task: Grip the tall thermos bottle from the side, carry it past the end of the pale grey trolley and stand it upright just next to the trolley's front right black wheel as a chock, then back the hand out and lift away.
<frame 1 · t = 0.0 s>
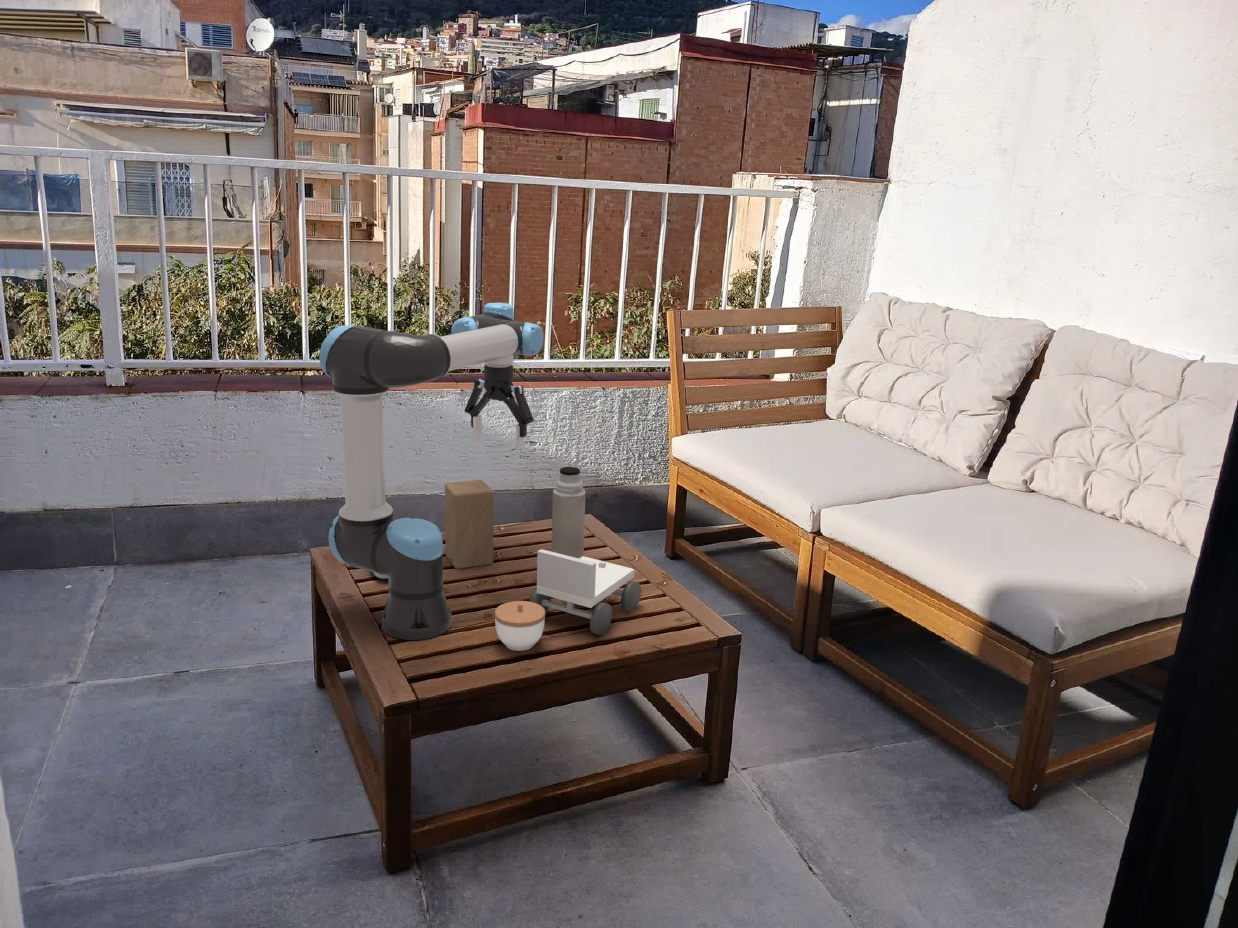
hand: (498, 444, 256), 28 cm above the table, fingers open, 13 cm apart
trolley: (585, 612, 226), on the table
thermos bottle: (567, 575, 246), on the table
wooden block: (469, 560, 253), on the table
decorative stone: (391, 571, 245), on the table
lidded jar: (519, 644, 210), on the table
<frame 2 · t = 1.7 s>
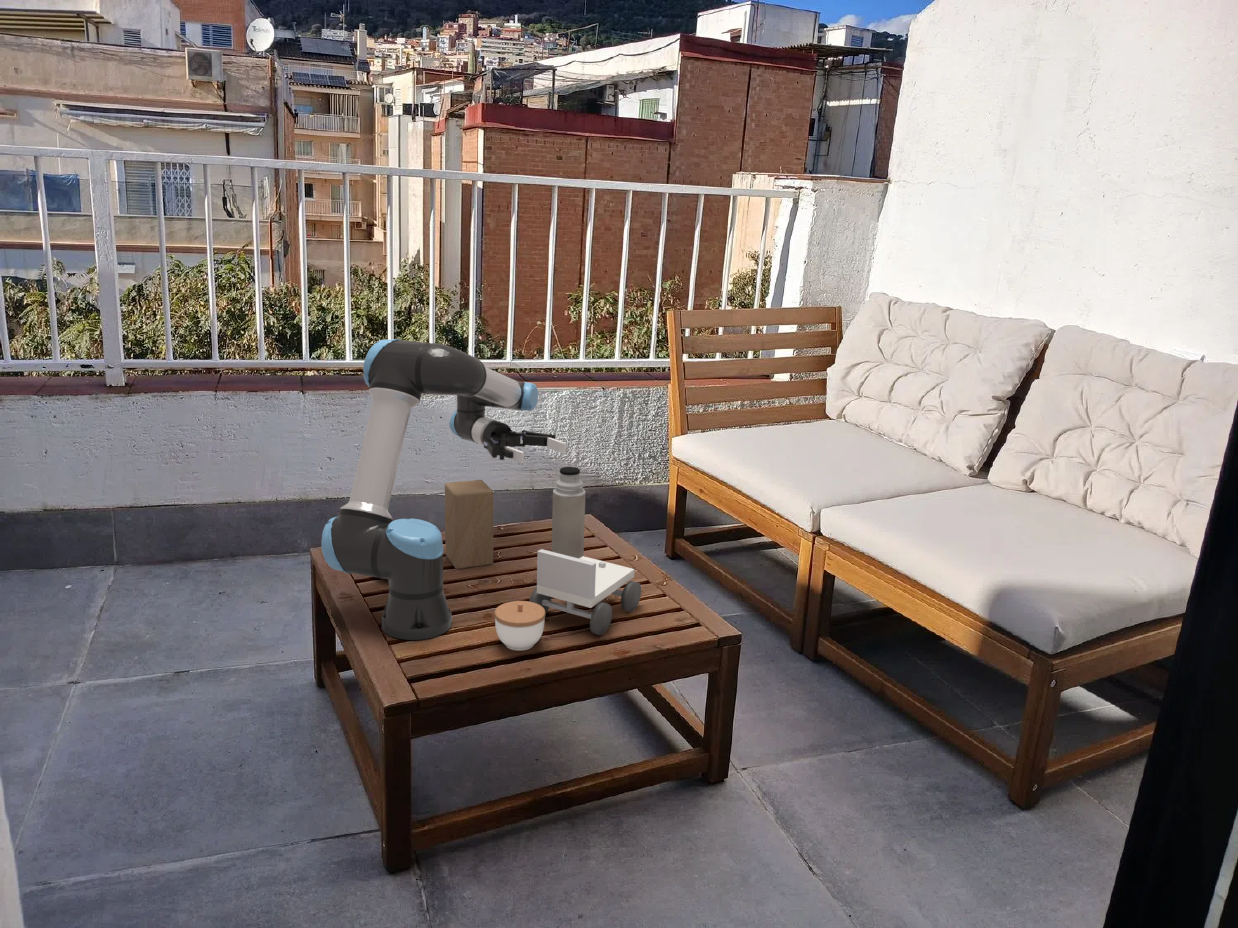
hand: (544, 453, 244), 30 cm above the table, fingers open, 13 cm apart
nothing on the table moved.
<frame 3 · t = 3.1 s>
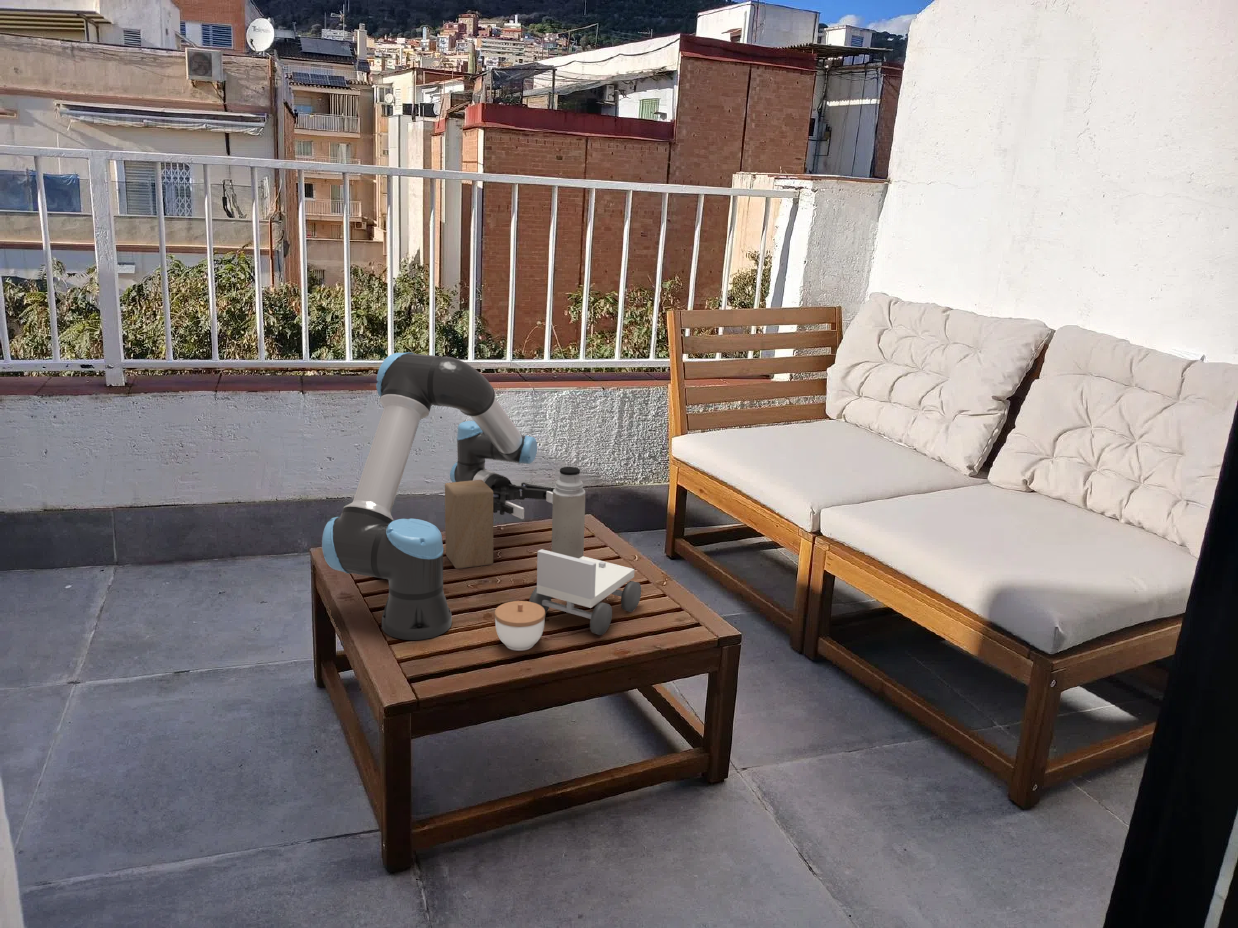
hand: (543, 508, 248), 15 cm above the table, fingers open, 13 cm apart
wooden block: (469, 560, 253), on the table, touching hand
everything else where it was.
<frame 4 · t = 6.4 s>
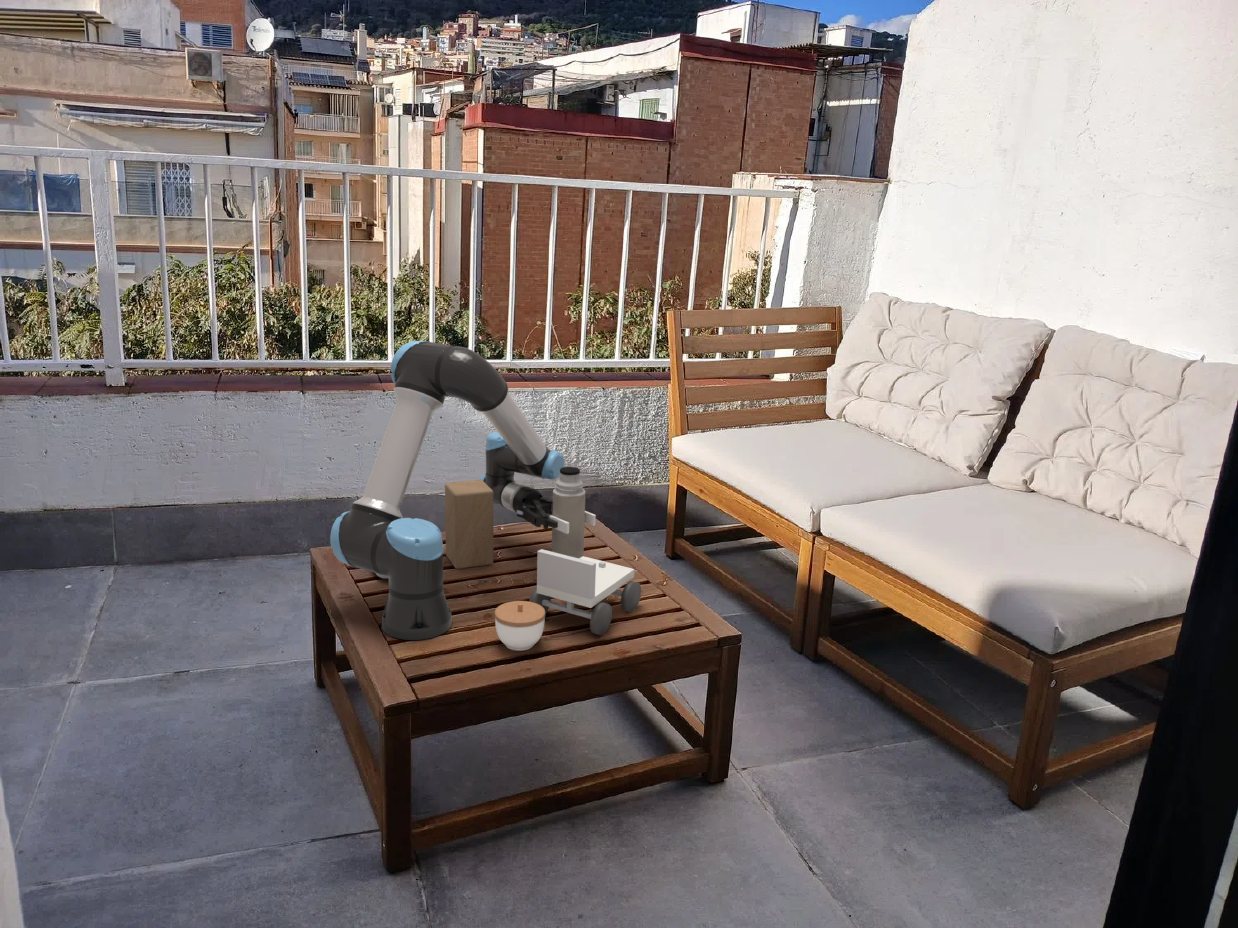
hand: (581, 524, 238), 15 cm above the table, fingers closed on thermos bottle, 8 cm apart
thermos bottle: (567, 575, 246), on the table, touching gripper
wooden block: (469, 560, 253), on the table
everything else where it was.
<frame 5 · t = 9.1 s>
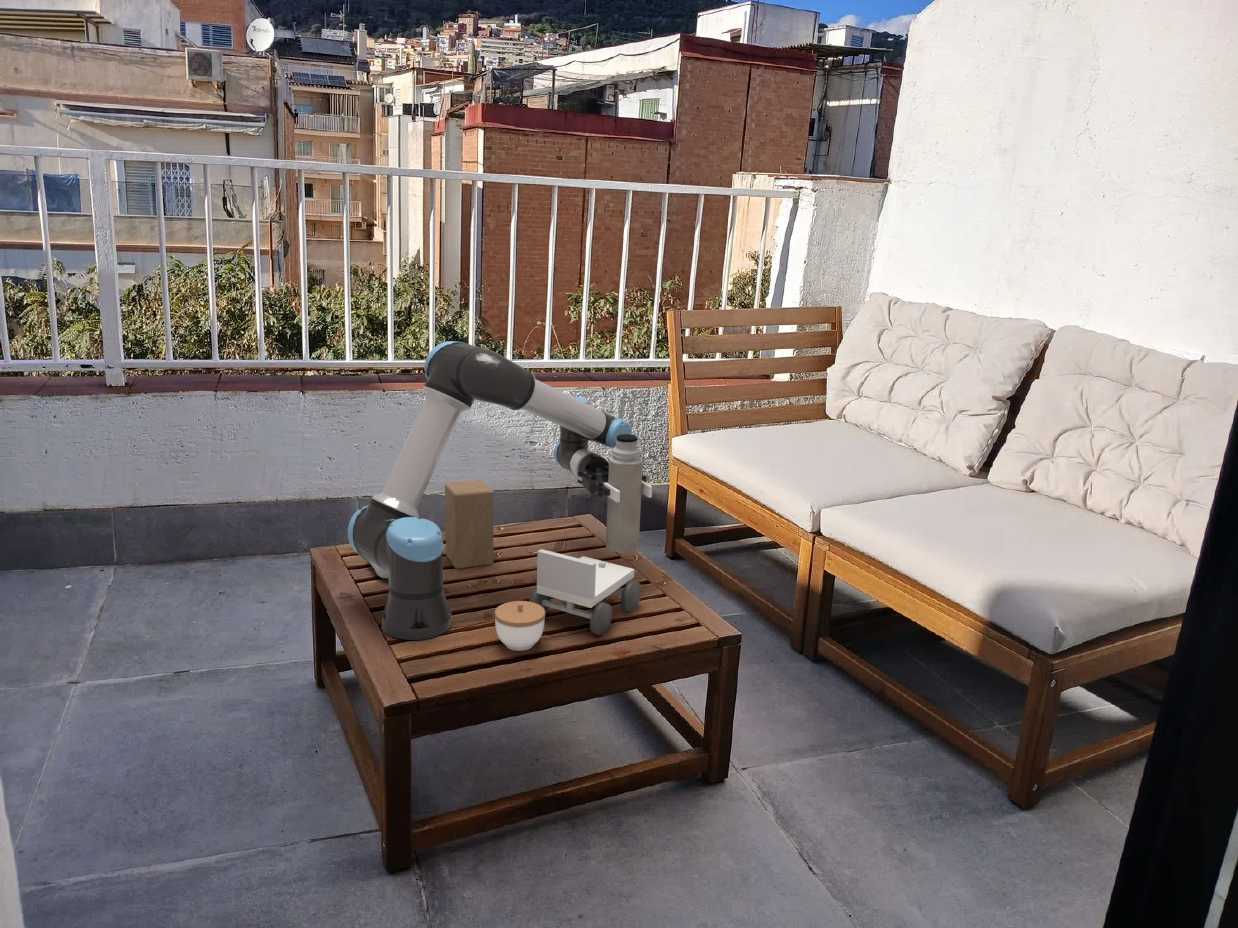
hand: (634, 494, 229), 25 cm above the table, fingers closed on thermos bottle, 8 cm apart
thermos bottle: (622, 547, 238), point 10 cm above the table, touching gripper
everything else where it was.
when the fingers open (16 cm above the table, at t = 12.2 s): thermos bottle drops 1 cm, on the table.
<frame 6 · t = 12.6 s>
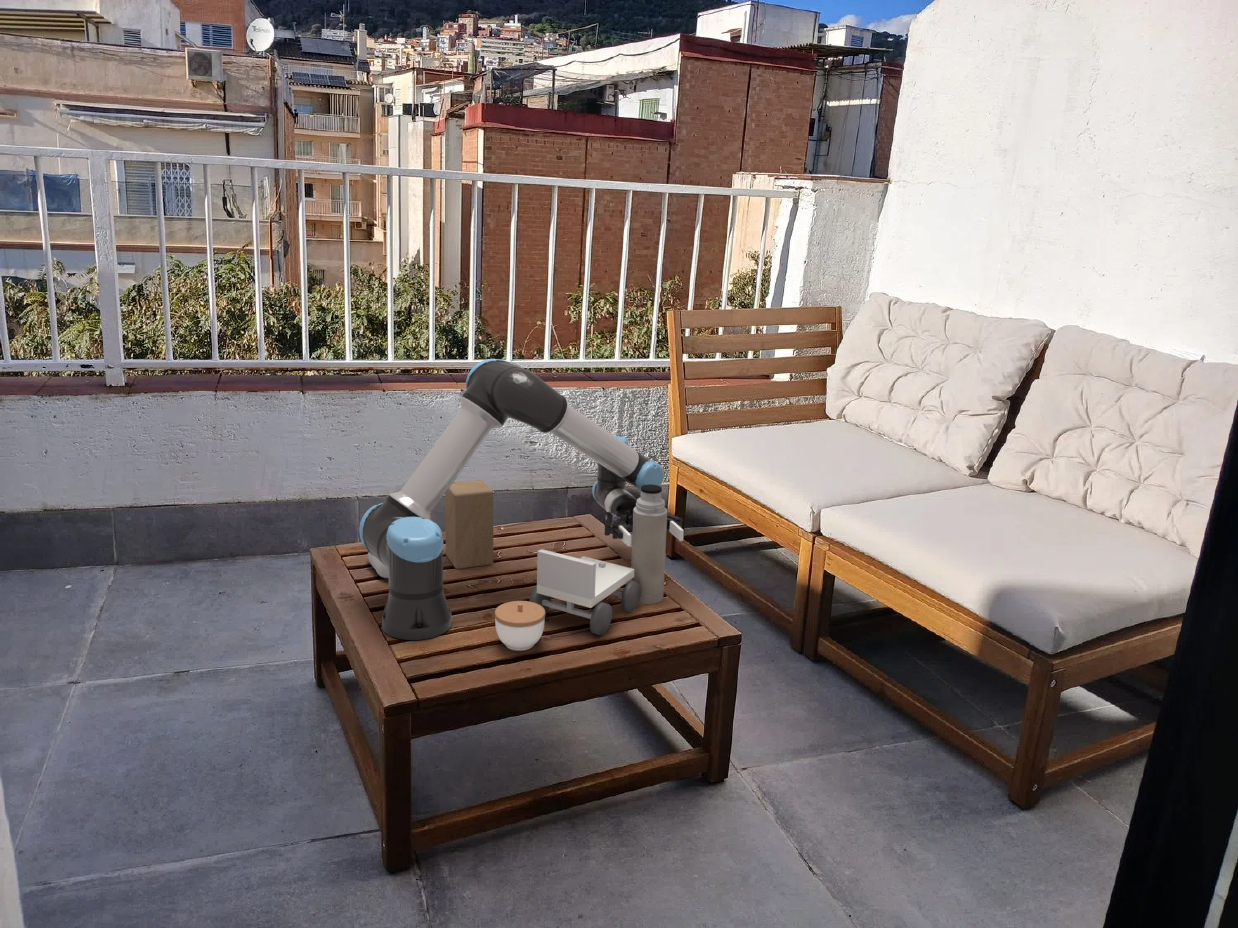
hand: (656, 538, 227), 16 cm above the table, fingers open, 12 cm apart
thermos bottle: (646, 597, 235), on the table
everything else where it was.
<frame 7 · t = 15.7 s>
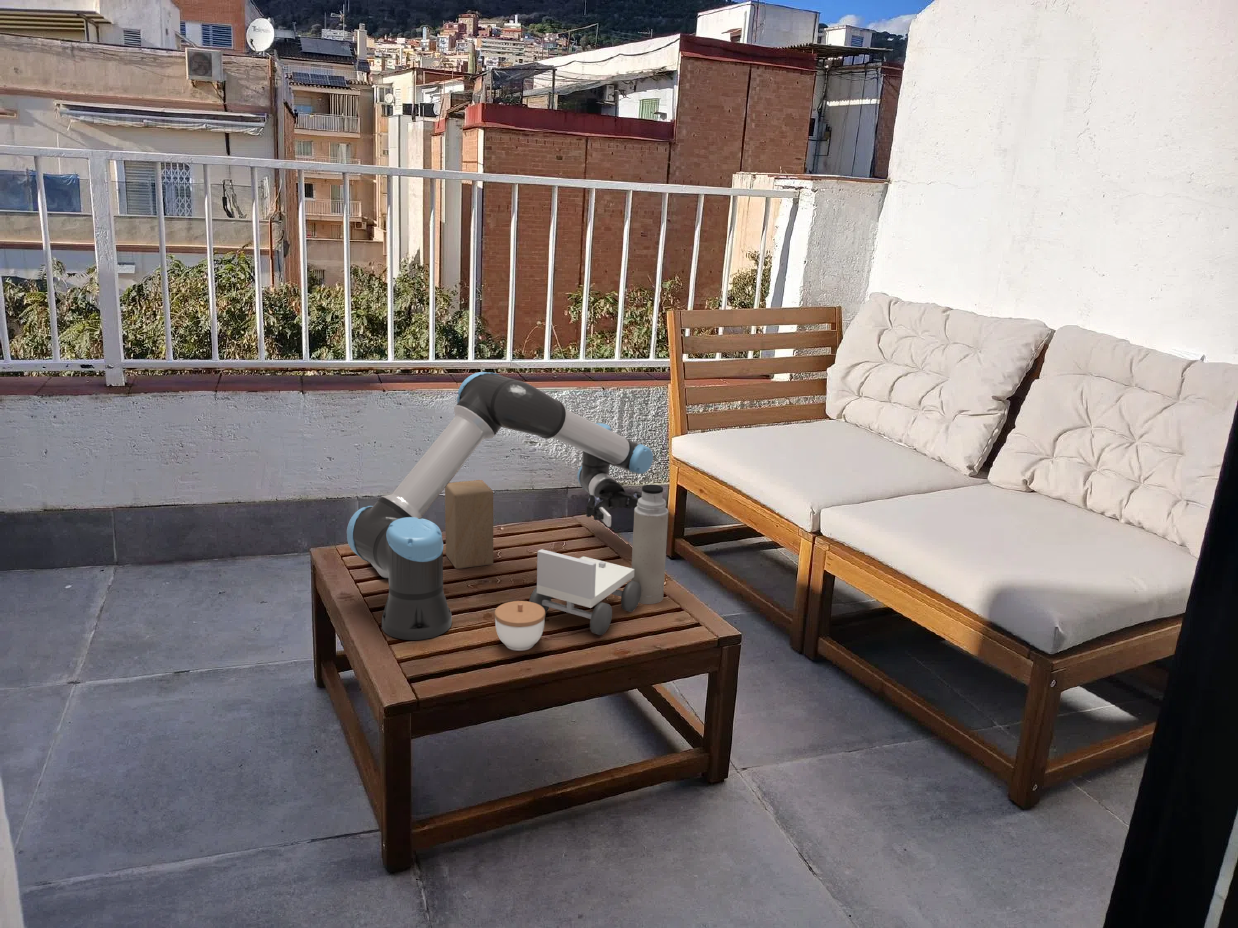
hand: (635, 519, 239), 17 cm above the table, fingers open, 13 cm apart
nothing on the table moved.
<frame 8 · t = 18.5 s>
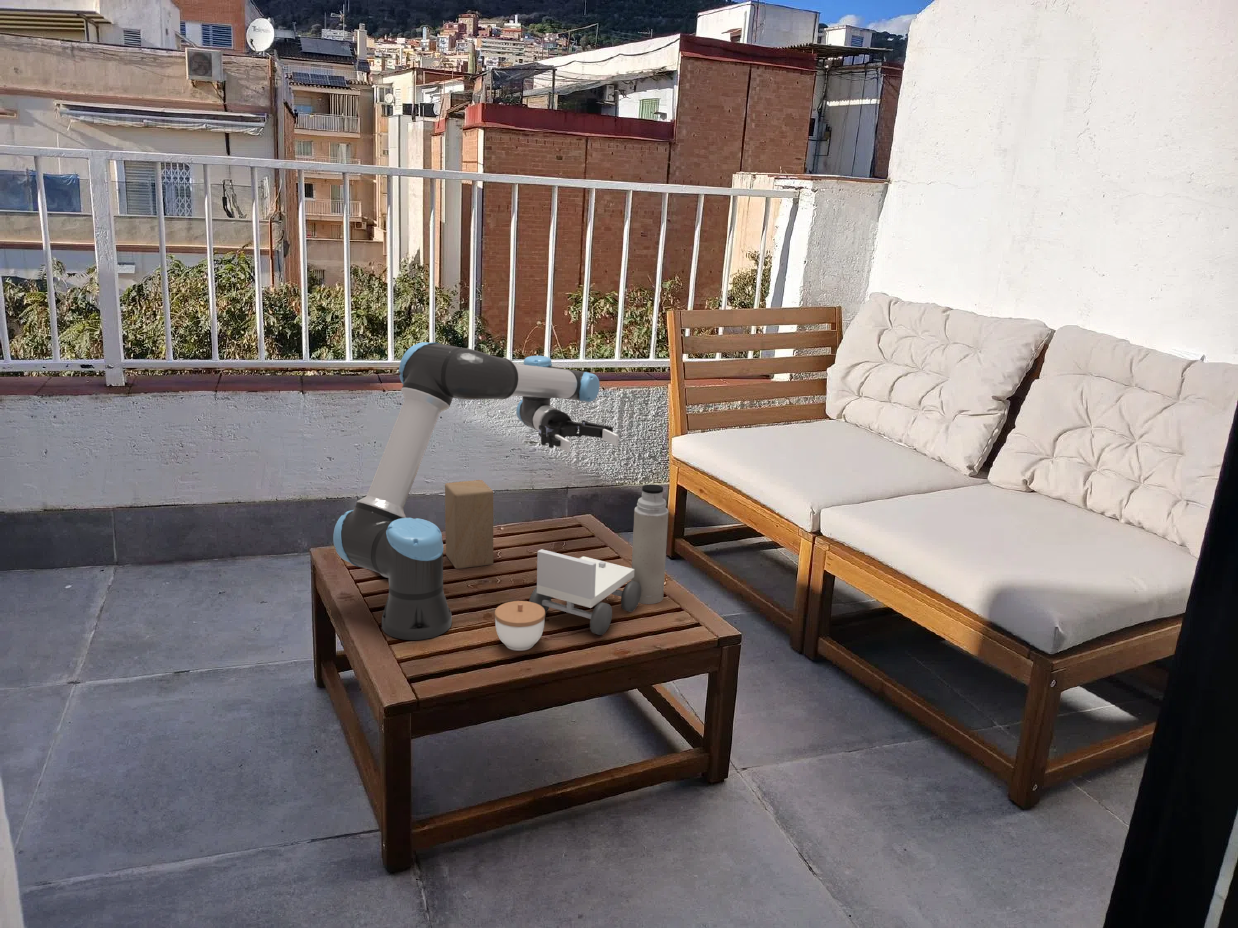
hand: (593, 443, 238), 34 cm above the table, fingers open, 13 cm apart
nothing on the table moved.
at the end: thermos bottle inside the target area on the table beside the trolley (0.5 cm from its centre), on the table; thermos bottle tilted 0°; the gripper is holding nothing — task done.
